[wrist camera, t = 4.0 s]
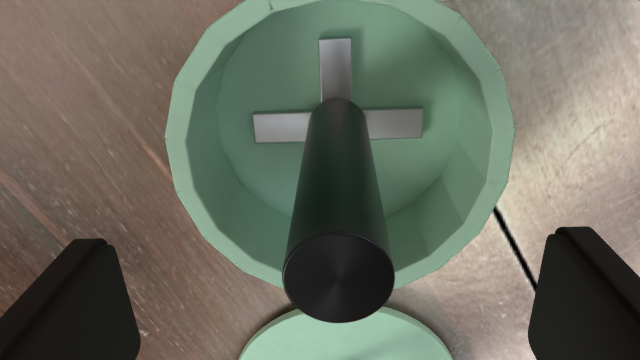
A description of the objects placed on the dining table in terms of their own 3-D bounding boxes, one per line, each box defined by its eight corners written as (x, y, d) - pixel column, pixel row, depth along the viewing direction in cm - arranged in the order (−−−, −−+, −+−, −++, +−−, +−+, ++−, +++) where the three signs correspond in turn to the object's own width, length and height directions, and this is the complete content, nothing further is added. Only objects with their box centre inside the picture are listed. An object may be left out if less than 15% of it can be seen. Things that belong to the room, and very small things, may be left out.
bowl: (490, -39, 18) (540, -40, 14) (461, 233, 24) (491, 296, 19) (180, -24, 19) (131, -21, 14) (222, 238, 24) (196, 300, 20)
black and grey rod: (426, 33, 19) (533, 115, 9) (417, 194, 22) (488, 396, 12) (245, 40, 19) (140, 127, 9) (263, 198, 23) (200, 397, 12)
